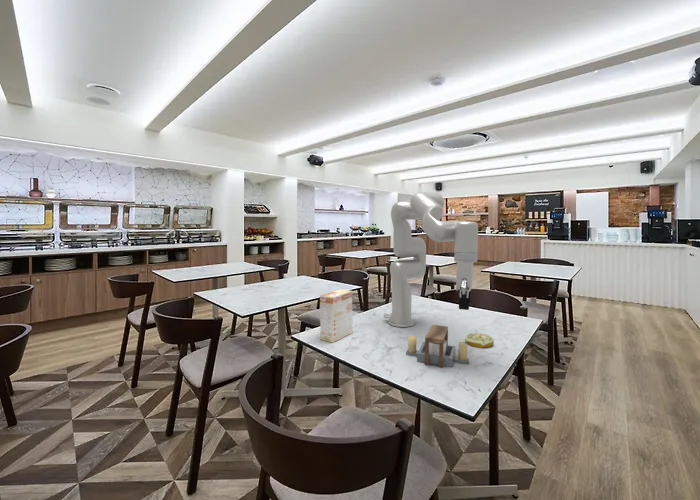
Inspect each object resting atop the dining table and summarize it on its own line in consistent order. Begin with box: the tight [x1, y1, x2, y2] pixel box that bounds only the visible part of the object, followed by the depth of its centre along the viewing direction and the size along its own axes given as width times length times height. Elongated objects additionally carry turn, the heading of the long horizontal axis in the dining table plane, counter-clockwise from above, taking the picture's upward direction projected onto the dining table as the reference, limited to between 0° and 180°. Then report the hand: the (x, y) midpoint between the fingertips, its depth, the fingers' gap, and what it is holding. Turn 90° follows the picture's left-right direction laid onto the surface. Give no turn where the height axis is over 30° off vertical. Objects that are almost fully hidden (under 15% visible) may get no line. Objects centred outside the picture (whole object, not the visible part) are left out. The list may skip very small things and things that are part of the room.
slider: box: [405, 335, 470, 368], centre depth 118 cm, size 22×12×6 cm, turn 67°
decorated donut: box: [464, 332, 495, 349], centre depth 132 cm, size 10×11×4 cm
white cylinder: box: [429, 339, 447, 356], centre depth 118 cm, size 7×7×7 cm
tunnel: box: [424, 324, 449, 368], centre depth 118 cm, size 6×15×10 cm, turn 157°
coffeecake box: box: [319, 288, 354, 343], centre depth 142 cm, size 15×7×20 cm, turn 145°
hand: (464, 305), depth 113 cm, fingers open, 9 cm apart
